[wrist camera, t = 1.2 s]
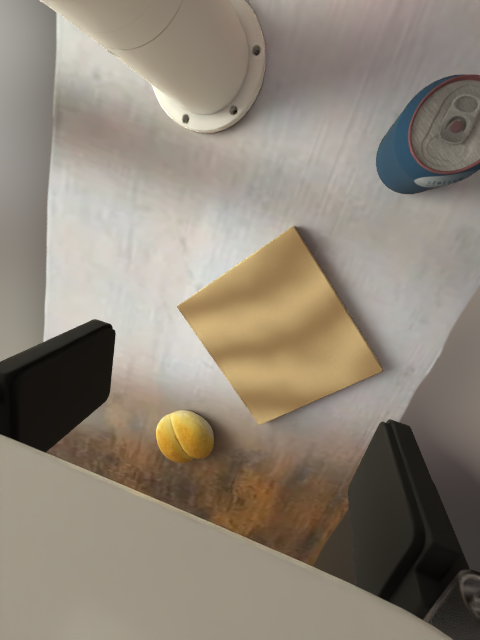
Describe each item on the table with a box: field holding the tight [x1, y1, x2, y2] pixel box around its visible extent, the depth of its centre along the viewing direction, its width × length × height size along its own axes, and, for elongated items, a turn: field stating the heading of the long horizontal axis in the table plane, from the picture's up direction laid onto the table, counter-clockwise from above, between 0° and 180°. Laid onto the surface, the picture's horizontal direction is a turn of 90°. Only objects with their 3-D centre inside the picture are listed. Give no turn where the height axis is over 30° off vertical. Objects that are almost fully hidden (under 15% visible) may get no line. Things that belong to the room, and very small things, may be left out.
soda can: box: [376, 75, 480, 194], centre depth 26 cm, size 7×7×12 cm
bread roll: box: [156, 410, 214, 463], centre depth 48 cm, size 8×9×4 cm
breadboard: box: [177, 226, 383, 425], centre depth 40 cm, size 20×18×2 cm
